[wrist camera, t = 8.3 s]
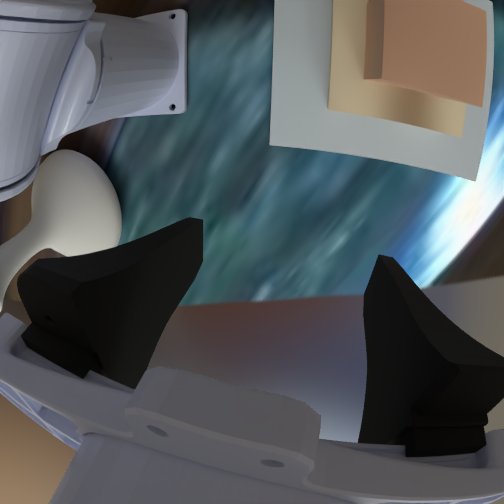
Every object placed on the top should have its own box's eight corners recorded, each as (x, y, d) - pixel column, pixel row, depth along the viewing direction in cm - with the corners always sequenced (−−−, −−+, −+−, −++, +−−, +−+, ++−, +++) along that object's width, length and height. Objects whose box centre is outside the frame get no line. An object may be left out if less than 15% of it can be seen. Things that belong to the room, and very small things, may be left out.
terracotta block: (363, 79, 13) (381, 78, 9) (366, 4, 11) (383, -24, 7) (440, 97, 12) (482, 107, 8) (444, 24, 10) (486, 11, 6)
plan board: (271, 142, 20) (269, 145, 19) (277, -43, 12) (275, -47, 12) (471, 177, 17) (475, 181, 17) (487, 3, 10) (492, 2, 9)
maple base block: (326, 106, 17) (328, 110, 15) (331, -9, 13) (333, -23, 10) (443, 129, 16) (461, 138, 13) (451, 19, 11) (470, 12, 9)
